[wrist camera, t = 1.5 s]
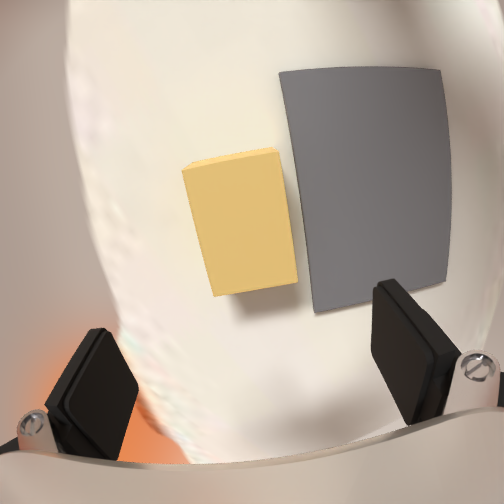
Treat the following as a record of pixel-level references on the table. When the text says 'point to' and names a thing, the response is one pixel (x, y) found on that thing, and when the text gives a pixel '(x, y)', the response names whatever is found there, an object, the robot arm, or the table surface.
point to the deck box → (242, 220)
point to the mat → (370, 177)
